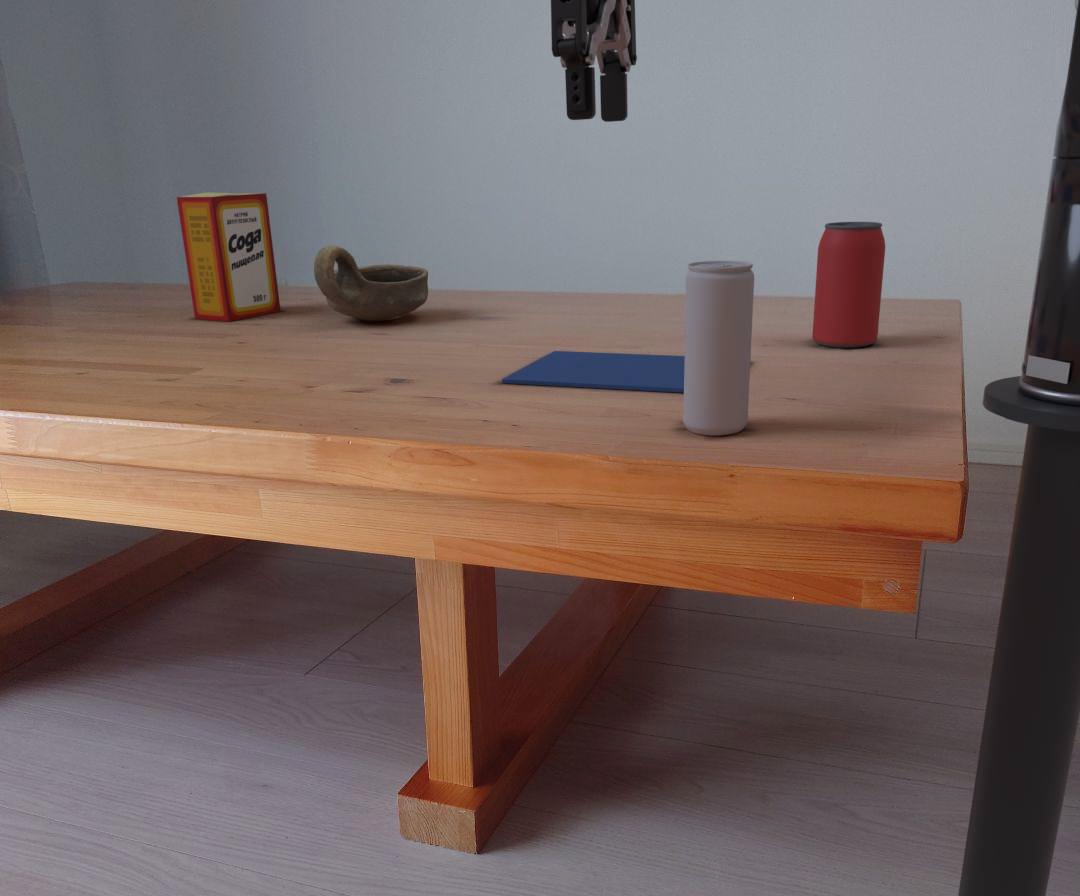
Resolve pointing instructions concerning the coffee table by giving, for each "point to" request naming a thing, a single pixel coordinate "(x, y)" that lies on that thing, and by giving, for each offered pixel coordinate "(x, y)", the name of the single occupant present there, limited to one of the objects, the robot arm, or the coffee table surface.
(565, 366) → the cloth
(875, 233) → the beer can
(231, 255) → the baking soda box
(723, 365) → the beverage can
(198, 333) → the coffee table surface
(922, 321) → the coffee table surface
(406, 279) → the bowl
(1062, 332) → the robot arm
